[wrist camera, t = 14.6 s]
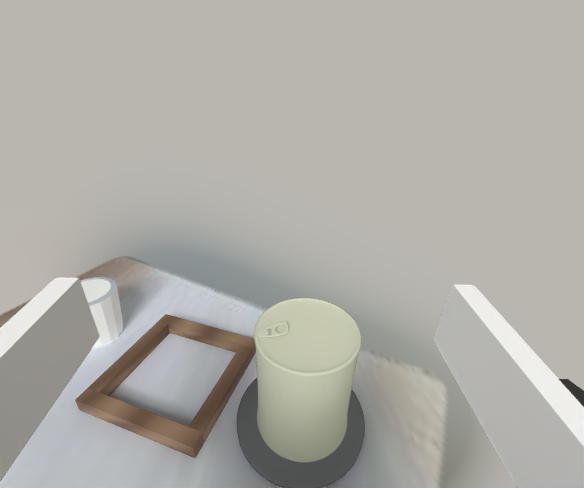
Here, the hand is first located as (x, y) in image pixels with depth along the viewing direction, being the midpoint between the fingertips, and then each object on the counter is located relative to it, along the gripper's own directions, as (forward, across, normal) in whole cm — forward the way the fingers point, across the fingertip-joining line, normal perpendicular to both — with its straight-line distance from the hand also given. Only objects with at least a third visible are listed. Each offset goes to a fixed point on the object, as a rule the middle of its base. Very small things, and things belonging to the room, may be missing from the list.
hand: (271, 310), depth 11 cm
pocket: (+16, -11, -24) cm, 31 cm away
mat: (+11, +3, -24) cm, 26 cm away
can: (+10, +3, -23) cm, 26 cm away
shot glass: (+23, -24, -25) cm, 41 cm away
